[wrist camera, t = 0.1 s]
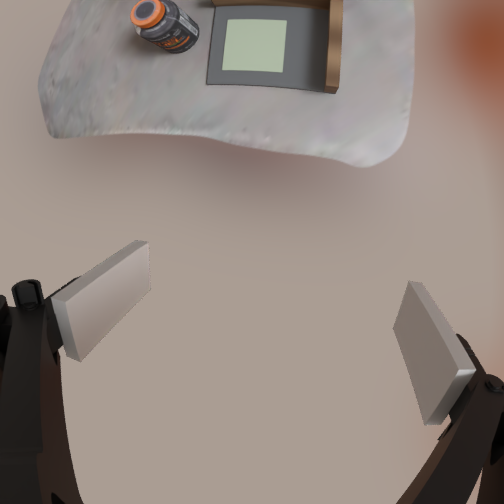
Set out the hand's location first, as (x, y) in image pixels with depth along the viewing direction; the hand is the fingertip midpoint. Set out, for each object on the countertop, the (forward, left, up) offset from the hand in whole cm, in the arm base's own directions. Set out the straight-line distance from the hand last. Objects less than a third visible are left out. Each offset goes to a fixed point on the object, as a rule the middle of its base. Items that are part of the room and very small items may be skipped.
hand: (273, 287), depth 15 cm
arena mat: (-21, -5, -28) cm, 35 cm away
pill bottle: (-22, -18, -28) cm, 40 cm away
